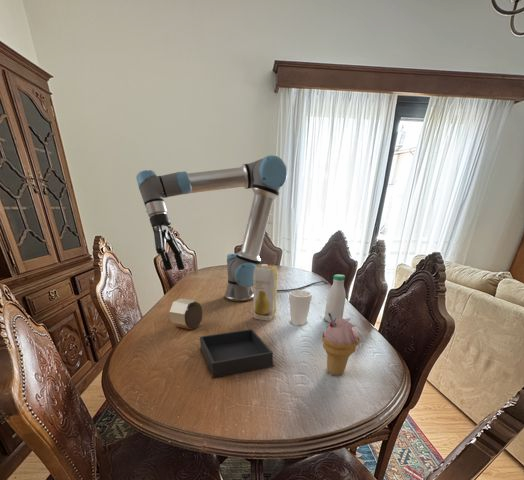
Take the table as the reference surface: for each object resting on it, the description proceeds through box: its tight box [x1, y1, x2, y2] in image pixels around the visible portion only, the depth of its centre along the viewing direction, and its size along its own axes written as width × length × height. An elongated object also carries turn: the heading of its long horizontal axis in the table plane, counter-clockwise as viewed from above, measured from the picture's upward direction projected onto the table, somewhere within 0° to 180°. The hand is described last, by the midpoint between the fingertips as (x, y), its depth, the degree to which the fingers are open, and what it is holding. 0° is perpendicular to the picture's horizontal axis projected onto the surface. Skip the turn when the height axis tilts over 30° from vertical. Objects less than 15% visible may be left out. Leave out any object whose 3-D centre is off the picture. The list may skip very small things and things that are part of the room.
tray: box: [199, 328, 274, 378], centre depth 97 cm, size 20×20×5 cm
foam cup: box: [288, 289, 313, 326], centre depth 123 cm, size 10×9×13 cm
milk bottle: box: [324, 273, 347, 323], centre depth 124 cm, size 8×8×20 cm
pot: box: [168, 297, 203, 330], centre depth 118 cm, size 8×11×11 cm
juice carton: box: [252, 263, 278, 322], centre depth 124 cm, size 9×8×24 cm
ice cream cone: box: [321, 313, 361, 377], centre depth 86 cm, size 11×11×20 cm
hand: (175, 269), depth 118 cm, fingers open, 13 cm apart
